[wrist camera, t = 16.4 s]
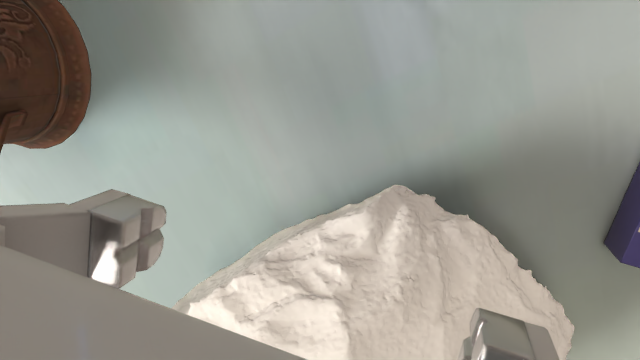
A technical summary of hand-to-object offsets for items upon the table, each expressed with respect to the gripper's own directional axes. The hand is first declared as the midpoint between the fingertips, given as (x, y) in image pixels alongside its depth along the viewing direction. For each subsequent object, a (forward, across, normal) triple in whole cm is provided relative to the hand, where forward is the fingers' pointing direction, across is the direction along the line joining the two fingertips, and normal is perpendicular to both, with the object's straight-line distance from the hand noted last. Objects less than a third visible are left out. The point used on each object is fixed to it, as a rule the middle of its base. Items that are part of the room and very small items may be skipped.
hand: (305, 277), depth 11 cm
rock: (+31, +1, +20) cm, 37 cm away
